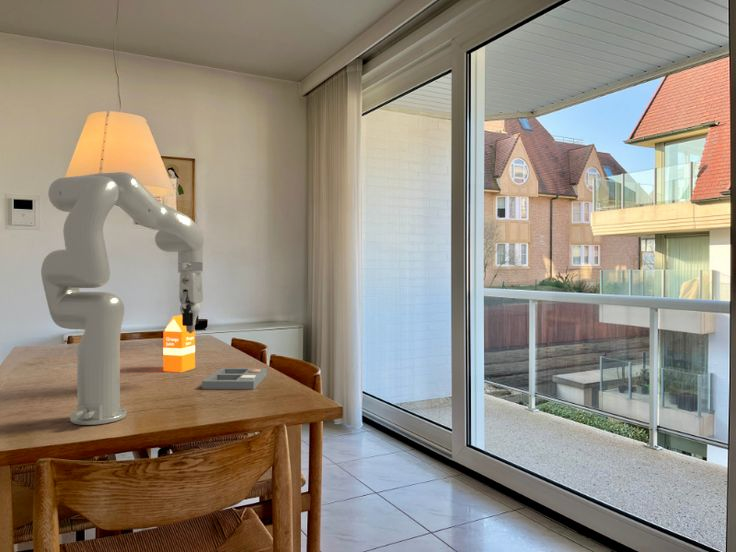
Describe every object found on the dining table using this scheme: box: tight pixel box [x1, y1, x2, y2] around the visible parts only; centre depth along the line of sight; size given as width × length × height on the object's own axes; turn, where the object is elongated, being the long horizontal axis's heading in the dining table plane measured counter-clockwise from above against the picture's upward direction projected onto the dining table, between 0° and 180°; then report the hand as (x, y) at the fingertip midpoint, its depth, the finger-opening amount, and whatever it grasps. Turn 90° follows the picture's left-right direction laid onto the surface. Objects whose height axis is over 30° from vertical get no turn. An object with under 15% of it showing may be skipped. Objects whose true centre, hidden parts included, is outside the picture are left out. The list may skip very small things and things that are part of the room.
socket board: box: [201, 367, 268, 391], centre depth 177 cm, size 22×16×3 cm
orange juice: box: [162, 314, 196, 373], centre depth 197 cm, size 8×9×20 cm
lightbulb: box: [179, 301, 201, 333], centre depth 171 cm, size 6×6×11 cm
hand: (190, 324), depth 171 cm, fingers closed on lightbulb, 5 cm apart
